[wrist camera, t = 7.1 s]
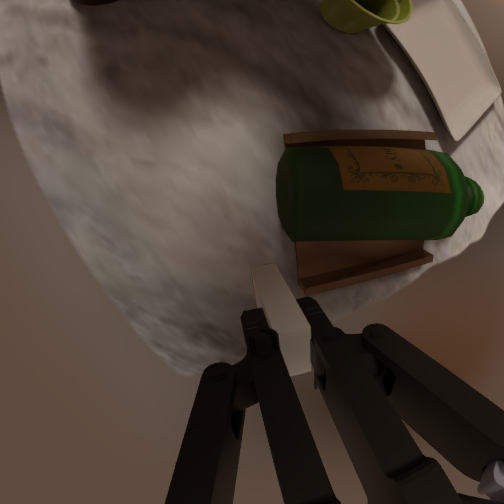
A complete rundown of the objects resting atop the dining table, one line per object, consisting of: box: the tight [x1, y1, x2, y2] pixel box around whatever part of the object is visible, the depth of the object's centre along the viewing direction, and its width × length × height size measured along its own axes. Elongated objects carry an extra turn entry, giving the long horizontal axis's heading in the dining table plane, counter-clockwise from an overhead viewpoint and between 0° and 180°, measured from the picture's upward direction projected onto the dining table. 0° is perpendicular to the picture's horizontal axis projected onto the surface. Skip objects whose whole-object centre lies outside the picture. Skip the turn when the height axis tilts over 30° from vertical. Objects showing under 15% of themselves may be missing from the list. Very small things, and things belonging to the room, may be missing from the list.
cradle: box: [283, 130, 437, 296], centre depth 30 cm, size 18×20×3 cm
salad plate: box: [383, 0, 502, 142], centre depth 24 cm, size 21×21×3 cm
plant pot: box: [320, 0, 413, 34], centre depth 18 cm, size 9×9×9 cm
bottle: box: [276, 146, 484, 242], centre depth 26 cm, size 11×11×28 cm
